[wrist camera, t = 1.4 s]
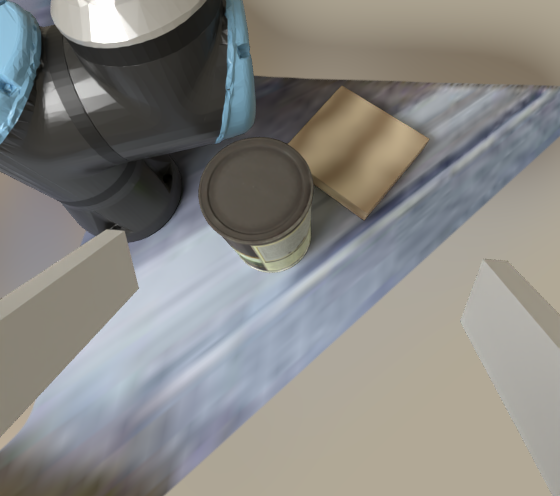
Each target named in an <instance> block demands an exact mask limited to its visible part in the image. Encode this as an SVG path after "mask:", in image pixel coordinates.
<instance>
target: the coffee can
mask: <svg viewBox="0 0 560 496" xmlns="http://www.w3.org/2000/svg"><path fill="white" fill-rule="evenodd" d="M313 191H314V184H313V178H312V174H311V170H310V168H309V166H308V164H307V162H306V161H305V159H304V158H303V157H302V156H301V154H300V153H299V152H298V151H296V150H295V149H294V148H293V147H291V146H290V145H288V144H286V143H284V142H282V141H279V140H276V139H272V138H267V137H253V138H247V139H242V140H239V141H236V142H234V143H232V144H230V145H228V146H226V147H225V148H223V149H222V150H221V151H219V152H218V153H217V154H216V155H215V156H214V157H213V158H212V159H211V161H210V162H209V163H208V164H207V166H206V168H205V170H204V172H203V174H202V176H201V180H200V184H199V195H198V197H199V204H200V208H201V211H202V213H203V215H204V217H205V219H206V221H207V222H208V224H209V225H210V226H211V227H212V228H213V229H214V230H215V231H216V232H217V233H218V234H220V235H221V236H222V237H223V238H224V239H225V240H226V241H227V242H228V243H229V245H230V246H231V247H232V248H233V249H234V250H235V251H236V252H237V253H238V254H239V256H240V257H241V259H242V260H243V261H244V262H245V263H246V264H247V265H249V266H250V267H252V268H254V269H256V270H258V271H262V272H268V273H274V272H281V271H284V270H287V269H289V268H291V267H292V266H294V265H295V264H297V263H298V262H299V261H300V260H301V259H302V258H303V256H304V255H305V253H306V252H307V250H308V247H309V244H310V240H311V203H312V198H313Z"/></svg>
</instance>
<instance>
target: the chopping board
mask: <svg viewBox="0 0 560 496" xmlns="http://www.w3.org/2000/svg"><path fill="white" fill-rule="evenodd" d="M428 141H429V138H427V137H425V136H424V135H422V134H420V133H419V132H417V131H416V130H414V129H412V128H411V127H409V126H407V125H406V124H404V123H402V122H401V121H399V120H397V119H396V118H394V117H393V116H391V115H389V114H388V113H386V112H384V111H383V110H381V109H379V108H378V107H376V106H375V105H373V104H371V103H370V102H368V101H366V100H365V99H363V98H361V97H360V96H358V95H356V94H355V93H353V92H352V91H350V90H348V89H347V88H345V87H343V86H341V87H340V88H339V89H338V90H337V91H336V92H335V93H334V94H333V95H332V96H331V98H330V99H329V100H328V101H327V102H326V103H325V104H324V105H323V106H322V107H321V108H320V110H319V111H318V112H317V113H316V114H315V115H314V116H313V117H312V118H311V119H310V120H309V121H308V123H307V124H306V125H305V126H304V127H303V128H302V129H301V130H300V131H299V132H298V133H297V135H296V136H295V137H294V138H293V139H292V140H291V141H290V142H289V143H288V145H290V146H291V147H293V148H294V149H295V150H296V151H298V152H299V153H300V154H301V156H302V157H303V158H304V159H305V161H306V162H307V164H308V166H309V168H310V170H311V174H312V178H313V184H314V185H315V186H317V187H318V188H320V189H321V190H322V191H324V192H325V193H327V194H328V195H329V196H331V197H332V198H333V199H335V200H336V201H338V202H339V203H340V204H342V205H343V206H345V207H346V208H347V209H349V210H350V211H352V212H353V213H354V214H356V215H357V216H358V217H360V218H361V219H363V220H365V219H366V218H367V217H368V215H369V214H370V213H371V212H372V211H373V209H374V208H375V207H376V206H377V205H378V203H379V202H380V201H381V200H382V199H383V197H384V196H385V195H386V194H387V193H388V191H389V190H390V189H391V188H392V187H393V185H394V184H395V183H396V182H397V180H398V179H399V178H400V177H401V176H402V174H403V173H404V172H405V171H406V170H407V168H408V167H409V166H410V165H411V164H412V162H413V161H414V160H415V159H416V158H417V156H418V155H419V154H420V153H421V152H422V150H423V149H424V147H425V146H426V144H427V142H428Z"/></svg>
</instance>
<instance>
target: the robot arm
mask: <svg viewBox="0 0 560 496" xmlns="http://www.w3.org/2000/svg"><path fill="white" fill-rule="evenodd" d="M51 16H52V19H53V21H54V23H55V25H51V26H47V27H41V26H39V24H38V22H37V20H36V19H35V17H34V16H33V15H32V14H31V13H30V12H28V11H26V10H24V9H22V8H21V7H20V6H19V5H18V4H16V3H13V2H10V1H7V0H0V172H2V173H4V174H6V175H8V176H10V177H12V178H14V179H16V180H18V181H20V182H22V183H24V184H26V185H28V186H30V187H32V188H34V189H36V190H38V191H39V192H41V193H43V194H45V195H47V196H49V197H51V198H53V199H56V200H57V201H59V202H61V203H62V205H63V206H64V207H65V208H66V210H67V211H68V212H69V213H70V214H71V216H72V217H73V218H74V219H75V220H76V221H77V223H78V224H79V225H80V226H81V227H82V228H84V229H85V230H86V231H88V232H89V233H91V234H93V235H95V236H96V237H94V238H93V239H91V240H90V241H88V242H87V243H85V244H84V245H82V246H81V247H79V248H78V249H76V250H75V251H73V252H72V253H70V254H68V255H67V256H65V257H64V258H62V259H61V260H60V261H58V262H56V263H55V264H53V265H52V266H50V267H49V268H47V269H46V270H44V271H43V272H41V273H40V274H38V275H37V276H35V277H33V278H32V279H31V280H29V281H27V282H26V283H25V284H23V285H22V286H20V287H19V288H17V289H15V290H14V291H12V292H11V293H9V294H8V295H6V296H5V297H3V298H1V299H0V437H1V436H2V435H3V434H4V433H5V432H6V430H7V429H8V428H9V427H10V426H11V425H12V424H13V423H14V422H15V421H16V420H17V419H18V418H19V417H20V415H21V414H22V413H23V412H24V411H25V410H26V409H27V408H28V407H29V406H30V405H31V404H32V403H33V402H34V400H35V399H36V398H37V397H38V396H39V395H40V394H41V393H42V392H43V391H44V390H45V389H46V388H47V387H48V385H49V384H50V383H51V382H52V381H53V380H54V379H55V378H56V377H57V376H58V375H59V374H60V373H61V372H62V370H63V369H64V368H65V367H66V366H67V365H68V364H69V363H70V362H71V361H72V360H73V359H74V358H75V356H76V355H77V354H78V353H79V352H80V351H81V350H82V349H83V348H84V347H85V346H86V345H87V344H88V343H89V341H90V340H91V339H92V338H93V337H94V336H95V335H96V334H97V333H98V332H99V331H100V330H101V329H102V327H103V326H104V325H105V324H106V323H107V322H108V321H109V320H110V319H111V318H112V317H113V316H114V315H115V314H116V312H117V311H118V310H119V309H120V308H121V307H122V306H123V305H124V304H125V303H126V302H127V301H128V300H129V299H130V297H131V296H132V295H133V294H134V293H135V292H136V291H137V290H138V289H139V287H138V283H137V279H136V275H135V271H134V267H133V263H132V259H131V255H130V251H129V247H128V243H129V242H134V241H138V240H141V239H143V238H146V237H148V236H150V235H152V234H153V233H155V232H156V231H158V230H159V229H160V228H161V227H162V226H163V225H164V224H165V223H166V222H167V221H168V220H169V219H170V218H171V216H172V215H173V213H174V211H175V210H176V208H177V205H178V203H179V200H180V196H181V189H182V182H181V176H180V172H179V170H178V167H177V165H176V164H175V162H174V161H173V160H172V158H171V157H170V156H169V155H168V153H173V152H177V151H182V150H186V149H191V148H195V147H200V146H204V145H209V144H213V143H214V144H217V143H220V142H221V141H222V140H225V139H228V138H231V137H234V136H238V135H241V134H244V133H245V132H247V131H248V130H249V129H250V128H251V127H252V125H253V123H254V120H255V115H256V99H255V85H254V75H253V66H252V59H251V55H250V53H249V51H250V46H249V39H248V28H247V22H246V16H245V11H244V6H243V1H242V0H51ZM460 322H461V324H462V326H463V328H464V330H465V332H466V334H467V336H468V337H469V339H470V341H471V343H472V345H473V347H474V349H475V351H476V352H477V354H478V356H479V358H480V360H481V362H482V364H483V366H484V367H485V369H486V371H487V373H488V375H489V377H490V379H491V381H492V382H493V384H494V386H495V388H496V390H497V392H498V394H499V396H500V398H501V399H502V401H503V403H504V405H505V407H506V409H507V411H508V413H509V415H510V416H511V418H512V420H513V422H514V424H515V426H516V428H517V429H518V431H519V433H520V435H521V437H522V439H523V441H524V443H525V445H526V447H527V449H528V450H529V452H530V454H531V456H532V458H533V460H534V462H535V463H536V465H537V467H538V469H539V471H540V473H541V475H542V477H543V479H544V480H545V482H546V484H547V486H548V488H549V490H550V492H551V494H552V496H560V315H559V313H558V312H557V311H556V310H555V309H554V308H553V307H552V306H551V305H550V304H549V303H548V302H547V301H546V300H545V299H544V298H543V297H542V296H541V295H540V294H539V293H538V292H537V291H536V290H535V289H534V288H533V287H532V286H531V285H530V284H529V283H528V282H527V281H526V280H525V278H524V277H523V276H522V275H521V274H519V272H518V271H517V270H516V269H515V268H514V267H513V266H512V265H511V264H510V263H509V262H508V261H503V260H491V259H483V260H482V263H481V266H480V269H479V271H478V274H477V277H476V279H475V282H474V285H473V287H472V290H471V293H470V296H469V299H468V301H467V304H466V306H465V309H464V312H463V315H462V317H461V320H460Z"/></svg>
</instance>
